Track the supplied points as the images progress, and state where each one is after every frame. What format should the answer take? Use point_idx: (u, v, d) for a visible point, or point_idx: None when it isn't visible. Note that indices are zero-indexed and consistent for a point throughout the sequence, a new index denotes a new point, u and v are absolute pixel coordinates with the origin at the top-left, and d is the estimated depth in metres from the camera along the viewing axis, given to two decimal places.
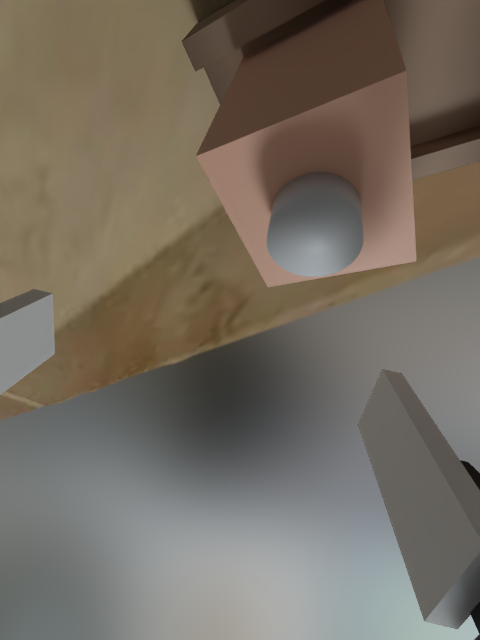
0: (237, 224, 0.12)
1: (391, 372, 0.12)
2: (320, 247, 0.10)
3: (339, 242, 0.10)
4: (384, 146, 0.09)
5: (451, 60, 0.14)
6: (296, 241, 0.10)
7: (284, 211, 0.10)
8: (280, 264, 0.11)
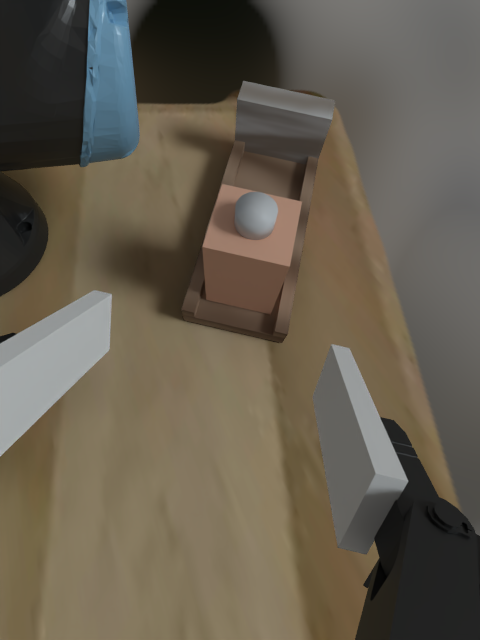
0: (240, 253, 0.23)
1: (339, 347, 0.13)
2: (260, 207, 0.23)
3: (261, 200, 0.23)
4: (240, 194, 0.25)
5: None
6: (251, 213, 0.22)
7: (235, 209, 0.22)
8: (261, 225, 0.22)
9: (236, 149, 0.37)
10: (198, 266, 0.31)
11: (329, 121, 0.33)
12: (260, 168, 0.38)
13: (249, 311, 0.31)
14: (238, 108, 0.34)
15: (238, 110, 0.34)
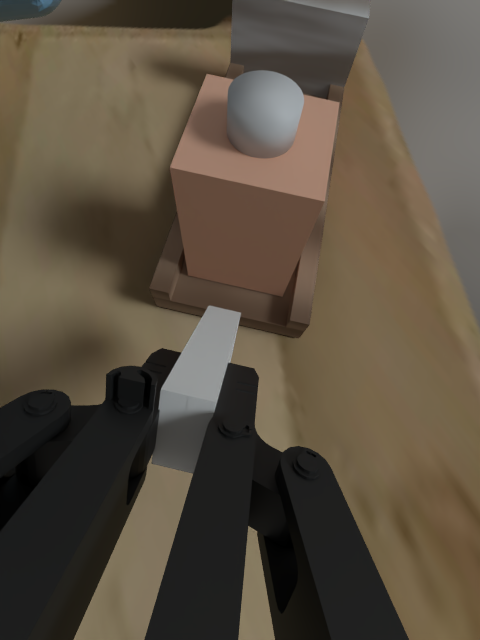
0: (238, 179, 0.13)
1: (231, 311, 0.14)
2: (272, 93, 0.13)
3: (273, 83, 0.13)
4: None
5: None
6: (257, 102, 0.12)
7: (228, 96, 0.12)
8: (274, 121, 0.12)
9: (233, 74, 0.27)
10: (176, 226, 0.21)
11: (364, 21, 0.23)
12: None
13: (251, 292, 0.21)
14: (234, 6, 0.24)
15: (234, 10, 0.24)
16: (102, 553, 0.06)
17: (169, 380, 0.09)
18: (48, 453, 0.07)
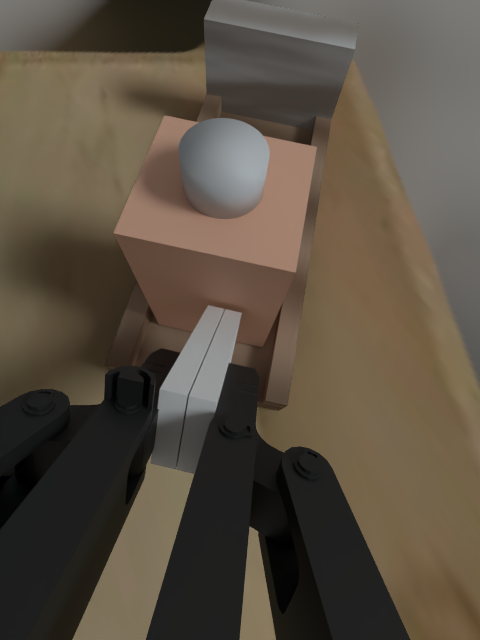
0: (193, 246, 0.11)
1: (231, 311, 0.14)
2: (231, 147, 0.11)
3: (234, 134, 0.11)
4: None
5: None
6: (213, 159, 0.10)
7: (178, 152, 0.11)
8: (232, 183, 0.10)
9: (209, 107, 0.25)
10: (139, 287, 0.19)
11: (351, 52, 0.21)
12: None
13: None
14: (207, 36, 0.22)
15: (207, 40, 0.22)
16: (101, 553, 0.06)
17: (168, 380, 0.09)
18: (47, 453, 0.07)
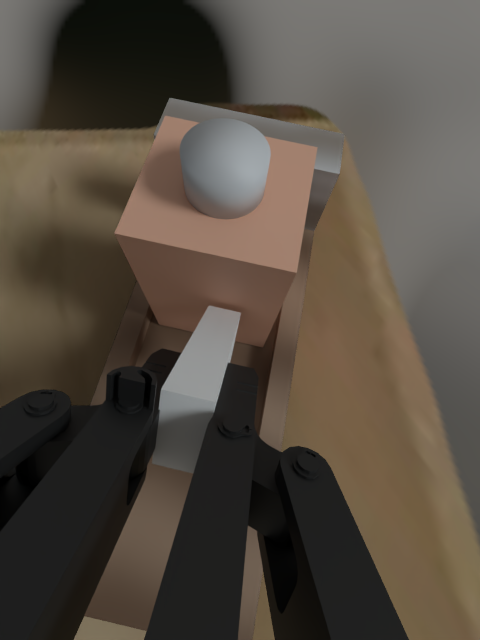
0: (194, 246, 0.11)
1: (231, 311, 0.14)
2: (232, 148, 0.11)
3: (235, 135, 0.11)
4: None
5: None
6: (214, 159, 0.10)
7: (179, 153, 0.11)
8: (233, 183, 0.10)
9: None
10: None
11: (334, 176, 0.17)
12: None
13: None
14: None
15: None
16: (102, 553, 0.06)
17: (169, 380, 0.09)
18: (48, 453, 0.07)
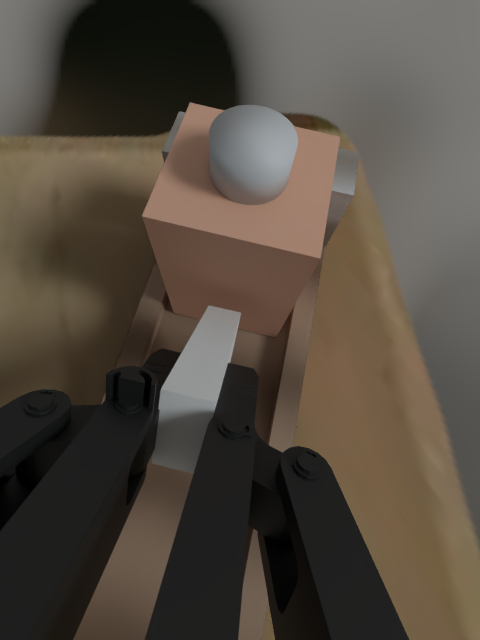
0: (220, 230, 0.11)
1: (231, 311, 0.14)
2: (260, 133, 0.11)
3: (263, 121, 0.11)
4: None
5: None
6: (243, 144, 0.11)
7: (208, 137, 0.11)
8: (262, 168, 0.10)
9: None
10: None
11: (348, 198, 0.17)
12: None
13: None
14: None
15: None
16: (102, 553, 0.06)
17: (169, 380, 0.09)
18: (48, 453, 0.07)
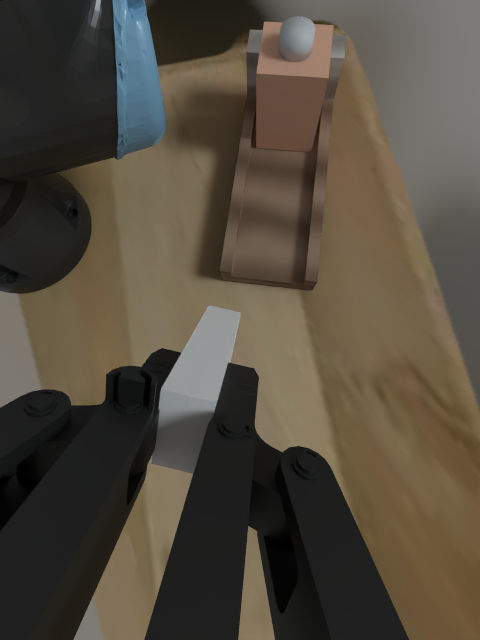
0: (287, 73, 0.29)
1: (231, 311, 0.14)
2: (300, 28, 0.28)
3: (300, 22, 0.28)
4: (281, 27, 0.30)
5: (282, 192, 0.36)
6: (294, 33, 0.28)
7: (280, 33, 0.28)
8: (302, 42, 0.27)
9: (250, 104, 0.38)
10: (229, 229, 0.34)
11: (341, 60, 0.33)
12: None
13: (280, 265, 0.34)
14: (248, 61, 0.34)
15: (248, 63, 0.35)
16: (102, 553, 0.06)
17: (169, 380, 0.09)
18: (48, 453, 0.07)
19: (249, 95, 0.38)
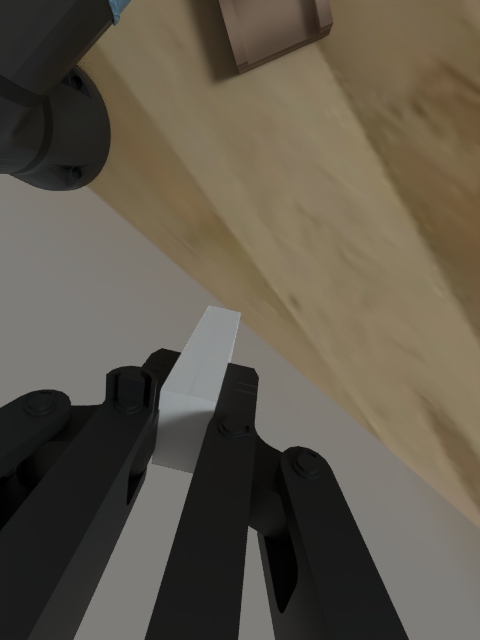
0: None
1: (231, 311, 0.14)
2: None
3: None
4: None
5: None
6: None
7: None
8: None
9: None
10: (224, 9, 0.32)
11: None
12: None
13: (289, 23, 0.33)
14: None
15: None
16: (102, 553, 0.06)
17: (169, 380, 0.09)
18: (48, 453, 0.07)
19: None
